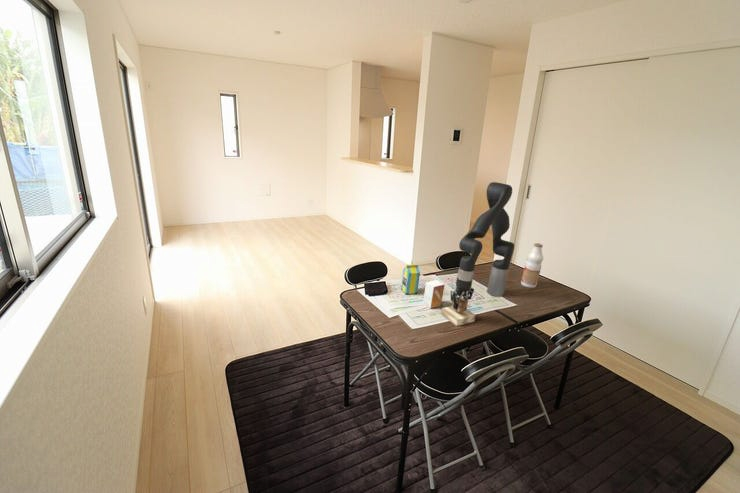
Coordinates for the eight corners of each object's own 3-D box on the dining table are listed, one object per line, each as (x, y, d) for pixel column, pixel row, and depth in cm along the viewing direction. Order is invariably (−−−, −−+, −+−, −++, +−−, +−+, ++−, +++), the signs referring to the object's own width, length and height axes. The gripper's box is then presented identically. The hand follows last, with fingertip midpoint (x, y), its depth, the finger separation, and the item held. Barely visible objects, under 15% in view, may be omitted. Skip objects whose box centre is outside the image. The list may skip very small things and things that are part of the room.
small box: (430, 309, 186) (433, 286, 181) (422, 303, 190) (425, 282, 186) (441, 305, 190) (445, 284, 186) (433, 300, 195) (436, 279, 190)
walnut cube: (459, 305, 180) (461, 297, 179) (466, 310, 176) (467, 301, 175) (452, 307, 178) (453, 298, 176) (458, 312, 174) (460, 303, 172)
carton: (411, 287, 208) (415, 259, 202) (417, 293, 201) (421, 265, 195) (400, 288, 206) (403, 260, 200) (405, 294, 199) (409, 265, 193)
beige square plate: (458, 310, 187) (459, 304, 185) (474, 322, 177) (475, 315, 176) (440, 315, 181) (441, 308, 180) (456, 327, 171) (457, 319, 170)
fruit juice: (526, 288, 221) (537, 246, 211) (517, 282, 229) (527, 241, 220) (539, 288, 223) (550, 246, 214) (529, 281, 231) (540, 241, 222)
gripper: (470, 272, 178) (464, 302, 183) (448, 276, 171) (443, 306, 177) (481, 278, 172) (475, 308, 177) (459, 282, 165) (453, 314, 171)
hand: (459, 307), depth 177 cm, fingers closed on walnut cube, 5 cm apart
